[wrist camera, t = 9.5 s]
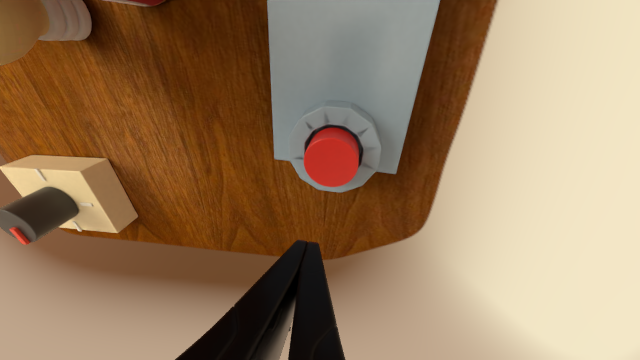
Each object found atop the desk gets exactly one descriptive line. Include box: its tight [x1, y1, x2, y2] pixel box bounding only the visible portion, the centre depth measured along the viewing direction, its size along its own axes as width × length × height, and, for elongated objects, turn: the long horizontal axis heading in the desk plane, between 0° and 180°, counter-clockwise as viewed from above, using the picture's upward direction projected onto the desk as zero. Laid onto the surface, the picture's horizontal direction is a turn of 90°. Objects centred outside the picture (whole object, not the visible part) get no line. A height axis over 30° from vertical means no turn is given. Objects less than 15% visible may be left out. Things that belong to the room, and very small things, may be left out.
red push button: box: [304, 128, 359, 187], centre depth 16 cm, size 4×4×2 cm
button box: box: [267, 0, 440, 192], centre depth 15 cm, size 19×10×4 cm, turn 177°
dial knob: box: [0, 187, 78, 244], centre depth 24 cm, size 4×4×4 cm
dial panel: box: [0, 155, 138, 233], centre depth 27 cm, size 10×8×3 cm
